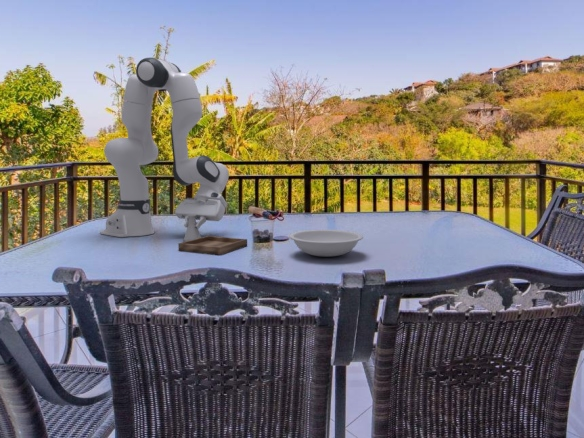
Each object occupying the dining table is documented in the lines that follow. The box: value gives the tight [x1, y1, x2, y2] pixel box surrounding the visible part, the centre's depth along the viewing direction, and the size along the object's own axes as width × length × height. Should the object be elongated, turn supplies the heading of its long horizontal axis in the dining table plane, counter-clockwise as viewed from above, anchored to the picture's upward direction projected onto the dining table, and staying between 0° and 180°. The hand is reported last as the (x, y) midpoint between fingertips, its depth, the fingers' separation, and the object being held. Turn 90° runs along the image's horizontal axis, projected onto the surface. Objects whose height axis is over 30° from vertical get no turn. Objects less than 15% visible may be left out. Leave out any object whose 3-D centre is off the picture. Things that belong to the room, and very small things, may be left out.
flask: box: [182, 214, 202, 242], centre depth 183 cm, size 7×7×10 cm
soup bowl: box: [288, 229, 364, 258], centre depth 157 cm, size 24×24×7 cm
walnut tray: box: [178, 235, 248, 256], centre depth 169 cm, size 17×17×2 cm
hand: (191, 227), depth 182 cm, fingers open, 3 cm apart
